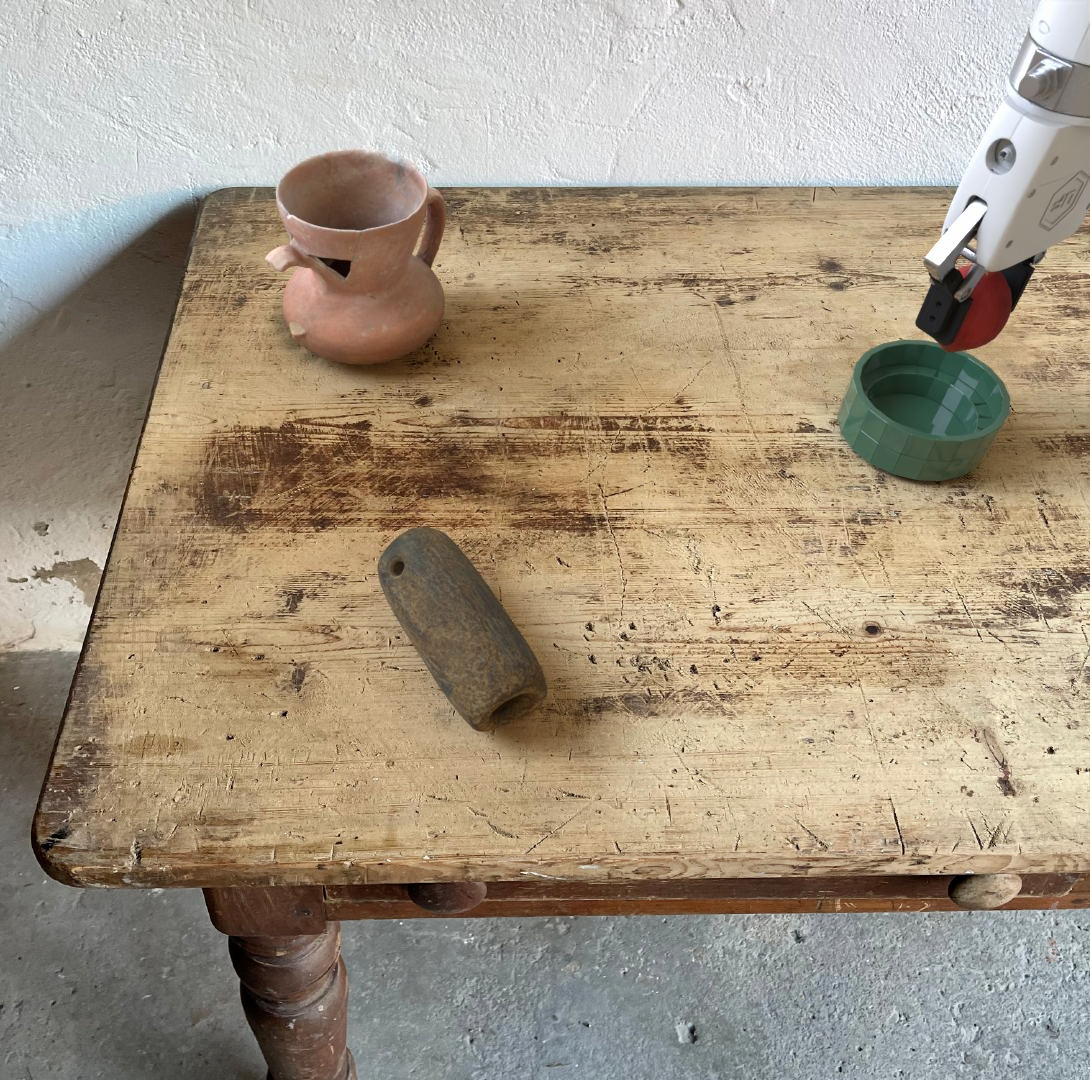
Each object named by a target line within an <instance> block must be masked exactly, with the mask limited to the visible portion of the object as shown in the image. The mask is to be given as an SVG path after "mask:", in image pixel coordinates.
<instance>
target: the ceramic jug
mask: <svg viewBox="0 0 1090 1080" xmlns="http://www.w3.org/2000/svg"><path fill="white" fill-rule="evenodd" d="M275 201H276V206H277V209H278V213H279V215H280V218H281V220H282V224H283V225H284V227H285V230H286V233H287V234H288V237H289V244H285V245H280V246H277V247H275V248H274V249H272V250H271V251H270V252H269V253H268V254H266V255H265V258H264V259H265V262H266V263H267V264H268V266H270V268H271V269H272V270H274V271H276V272H279V273H285V272H286V271H287V270H288V269H290V268H293V267H297V269H296V270H295V271H294V272H293V273H292V274H291V276H290V278H289V279H288V281H287V284H286V286H285V288H284V291H283V295H282V300H281V305H282V307H281V308H282V314H283V318H284V320H285V323H286V326H287V327H288V329H289V331H290V334H291V337H292V339H293V341H294V342H295V343H297V344H298V345H299V346H301V347H303V348H304V349H305V350H307V351H308V352H310V353H312V354H314V355H316V356H318V357H320V358H322V359H326V360H328V361H332V362H335V363H336V362H337V363H341V364H347V365H348V364H349V365H375V364H382V363H385V362H390V361H393V360H396V359H399V358H401V357H404V356H407V355H408V354H411V353H412V352H414V351H416V350H417V349H419V348H420V347H422V346H423V345H424V344H426V342H427V341H429V340H430V338H431V337H432V336H433V335H434V334H435V333H436V331H437V330H438V328H439V326H440V324H441V322H442V320H443V317H444V313H445V309H446V298H445V297H446V296H445V292H444V291H445V290H444V289H443V286H442V284H441V281H440V279H439V277H438V276H437V275H436V272H434V270H433V269H432V267H433V266H432V265H433V263H434V261H435V258H436V257H437V254H438V252H439V250H440V246H441V242H442V240H443V237H444V232H445V228H446V221H447V206H446V202H445V199H444V197H443V195H442V194H441V192H440V191H439V190H438V189H437V188H435V187H432V186H429V183H428V181H427V178H426V176H425V174H424V173H423V172H422V171H420V169H419V167H418V166H417V165H416V164H414V163H413V162H412V161H410V160H409V159H407V158H405V157H403V156H400V155H397V154H393V153H391V152H387V151H384V150H380V149H371V148H370V149H365V148H350V149H341V150H331V151H326V152H325V151H324V152H323V153H320V154H316V155H312V156H310V157H307V158H306V159H304V160H302V161H299V162H297V163H295V164H294V165H293V166H292V167H291V168H290V169H288V170H287V171H286V172H285V173H284V174H282V176H281V178H280V179H279V181H278V183H277V185H276V189H275ZM423 227H424V228H423ZM422 230H423V233H422V235H421V232H422ZM420 235H421V241H420V244H419V248H418V250H417V252H416V255H414V254H413V253H414V250H415V248H416V246H417V243H418V240H419V237H420Z"/></svg>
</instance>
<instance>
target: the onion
mask: <svg viewBox="0 0 1090 1080" xmlns="http://www.w3.org/2000/svg"><path fill="white" fill-rule="evenodd" d="M972 266H973V264H968V265H963V266H961V267H959V268H956V269H957V270H959V271H960V272H961V274H962V276H963V278H965V277H966V275H967V273H968V272H969V270H970V269H971V267H972ZM969 296H970V297H971V298H973V299H974V300H973V302H972V304H971V307H970V309H969V311H968V313H967V315H966V317H965V319H964V321H963V323H962V326H961V328H960V330H959V332H958V334H957V336H956V338H955V340H954V342H953V343H951V344H950V345H948V346H944V345H942V344H941V343H939V342H938V341H936V340H935V339H934V338H933V340H934V342H936V343H939V345H940V346H941V348H942V349H943V350H944V351H946V352H949V353H954V352H959V351H964V352H965V351H969V350H974V349H978V348H981V347H983V346H986V345H987V344H989V343H990V342H993V341H994V340H995V339H996V338H997V337H998V336H999V334H1000V333H1001V332H1002V331H1003V329H1004V328H1005V326H1006V325H1007V323H1008V321H1009V318H1010V315H1011V313H1012V312H1011V307H1012V298H1011V289H1010V287H1009V286H1008V284H1007V281H1006V279H1005V277H1004V276H1003V274H1002V273H1001V272H1000V271H995V272H989V271H987V270H986V271H985V273H984V274H983V276H982V277H981V279H980V280H979V282H978V283H977V285H976V286H975V288H974V289H973V291H972V292H971V294H970V295H969Z"/></svg>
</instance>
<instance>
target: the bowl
mask: <svg viewBox="0 0 1090 1080" xmlns="http://www.w3.org/2000/svg"><path fill="white" fill-rule="evenodd" d="M1005 384H1006V383H1005V382H1004V381H1003V380H1002V378H1001V377H999V375H998V374H997V373H996V372H995V371H994V370H993V369H992V367H990V366H989V365H988V364H986V363H985V362H984V361H982V360H980V359H978V358H977V357H976V356H974V355H972V354H970V353H968V352H966V351H965V350H964V351H959V352H954V353H949V352H946V351H944V350H943V349H942V348H941V346H940V345H939V343H938V342H937V341H931V340H926V339H898V340H893V341H888V342H883V343H880V344H878V345H876V346H874V347H872V348H870V349H868V350H866V351H865V352H864V353H863V355H861V357H860V358H859V359H858V360H857V361H856V362H855V364H854V366H853V370H852V371H851V375H850V377H849V380H848V382H847V386H846V388H845V391H844V393H843V396H842V399H841V401H840V403H839V408H838V414H837V416H836V417H837V422H838V426H839V430H840V434H841V436H842V437H843V439H844V441H846V443H847V444H848V446H849V447H850V448H851V450H852V451H854V452H855V453H856V454H857V455H859V456H860V457H861V458H862V459H864V460H865V461H866V462H867V463H869V464H870V465H873V466H875V467H877V468H879V469H880V470H884V471H885V472H887V473H889V474H892V475H895V476H899V477H903V478H906V479H911V480H915V481H929V482H930V481H931V482H943V481H947V480H951V479H956V478H961V477H964V476H965V475H967V474H969V473H970V472H972V471H973V470H975V469H977V468H978V467H979V466H980V465H981V463H982V462H983V460H984V459H985V458H986V456H987V455H988V453H989V452H990V449H991V448H992V446H993V445H994V443H995V441H996V439H997V437H998V435H999V434H1000V432H1001V430H1002V428H1003V426H1004V425H1005V423H1006V422H1007V420H1008V418H1009V416H1010V409H1011V397H1010V394H1009V391H1008V389H1007V387H1006V385H1005Z"/></svg>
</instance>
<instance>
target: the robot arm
mask: <svg viewBox="0 0 1090 1080" xmlns="http://www.w3.org/2000/svg"><path fill="white" fill-rule="evenodd" d="M1005 91H1006V94H1007V95H1006V96H1005V97H1004V98H1003V100H1002V101H1001V103H1000V105H999V107H998V109H996V112H995V114H994V115H993V117H992V119H991V121H990V123H989V124H988V126H987V128H986V130H985V132H984V134H983V136H982V137H981V140H980V141H979V144H978V146H977V148H976V150H975V151H974V154H973V156H972V158H971V159H970V161H969V163H968V165H967V167H966V170H965V172H964V174H963V176H962V179H961V180H960V182H959V185H958V186H957V188H956V191H955V194H954V196H953V199H952V200H951V203H950V206H949V208H948V210H947V213H946V216H945V218H944V221H943V225H942V228H941V232H940V233H941V234H940V239H939V240H938V241H937V242H936V244H935V245H934V246H933V247H932V248H931V250H929V252H928V253H927V254H926V256H925V257H924V258H923V261H922V263H923V266H924V267H925V269H926V270H927V272H928V275H929V280H928V282H929V283H930V286H929V289H928V291H927V293H926V295H925V298H924V300H923V302H922V304H921V307H920V309H919V311H918V314H917V316H916V318H915V321H914V325H915V327H916V328H917V329H919V330H920V331H922V332H923V333H925V334H927V335H928V336H929V337H930V338H931V339H933V340H934V339H935V340H936V341H935V340H934V341H935V342H937V341H938V342H939V343H941V344H942V345H944V346H948V345H950V344H951V343H953V342H954V340H955V338H956V336H957V334H958V332H959V330H960V328H961V326H962V323H963V321H964V319H965V317H966V315H967V313H968V311H969V309H970V307H971V304H972V302H973V300H974V299H973V298H971V297H970V296H969V295H970V294H971V292H972V291H973V289H974V288H975V286H976V285H977V283H978V282H979V280H980V279H981V277H982V276H983V274H984V273H985V271H986V270H987V271H989V272H995V271H1000V272H1001V273H1002V274H1003V276H1004V277H1005V279H1006V281H1007V284H1008V286H1009V287H1010V289H1011V298H1012V307H1011V313H1013V312H1014V311H1015V309H1016V307H1017V305H1018V303H1019V302H1020V299H1021V298H1022V295H1023V293H1024V292H1025V290H1026V288H1027V286H1028V284H1029V282H1030V280H1031V278H1032V276H1033V274H1034V272H1035V270H1036V268H1035V267H1033V266H1037V265H1039V264H1040V263H1041V262H1042V260H1044V258H1045V256H1046V254H1047V251H1048V249H1050V248H1052V247H1054V246H1055V245H1058V244H1060V243H1061V242H1063V241H1065V240H1067V239H1069V238H1070V237H1071V236H1072V235H1074V234H1075V233H1076V232H1077V231H1078V230H1079V229H1080V228H1081V226H1082V224H1083V222H1084V221H1085V218H1086V217H1087V215H1088V213H1089V211H1090V0H1040V1H1039V3H1038V5H1037V9H1036V11H1035V13H1034V15H1033V17H1032V21H1031V22H1030V26H1029V27H1028V30H1027V32H1026V35H1025V36H1024V39H1023V41H1022V44H1021V45H1020V49H1019V51H1018V54H1017V56H1016V58H1015V60H1014V63H1013V66H1012V68H1011V70H1010V72H1009V75H1008V78H1007V79H1006V82H1005ZM973 239H974V240H975V241H976V248H975V247H973V246H971V245H970V244H969V243H970V242H971V241H972V240H973ZM960 257H963V258H965V259H966V260H967V261H969V262H971V263H972V265H973V266H972V267H971V269H970V270H969V272H968V273H967V275H966V277H965V278H963V276H962V274H961V272H960V271H959V270H957V269H958V268H956V263H957V262H958V260H959V258H960ZM1032 265H1033V266H1032ZM938 342H937V343H938Z"/></svg>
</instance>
